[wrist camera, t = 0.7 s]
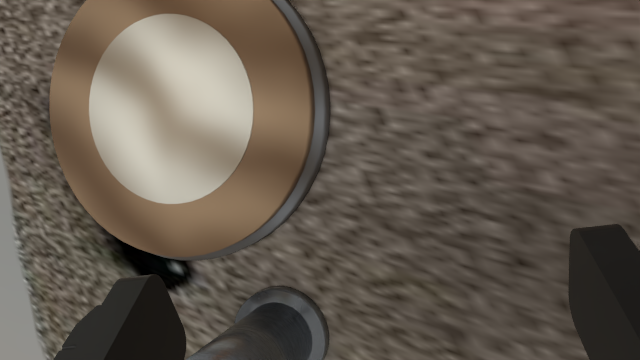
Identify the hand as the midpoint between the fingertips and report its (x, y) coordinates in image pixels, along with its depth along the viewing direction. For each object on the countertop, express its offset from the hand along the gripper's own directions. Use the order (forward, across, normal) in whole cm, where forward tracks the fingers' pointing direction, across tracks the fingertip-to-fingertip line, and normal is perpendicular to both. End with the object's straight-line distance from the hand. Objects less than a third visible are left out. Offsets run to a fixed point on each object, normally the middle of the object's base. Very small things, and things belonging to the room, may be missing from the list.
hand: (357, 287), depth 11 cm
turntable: (+25, +13, +5) cm, 29 cm away
